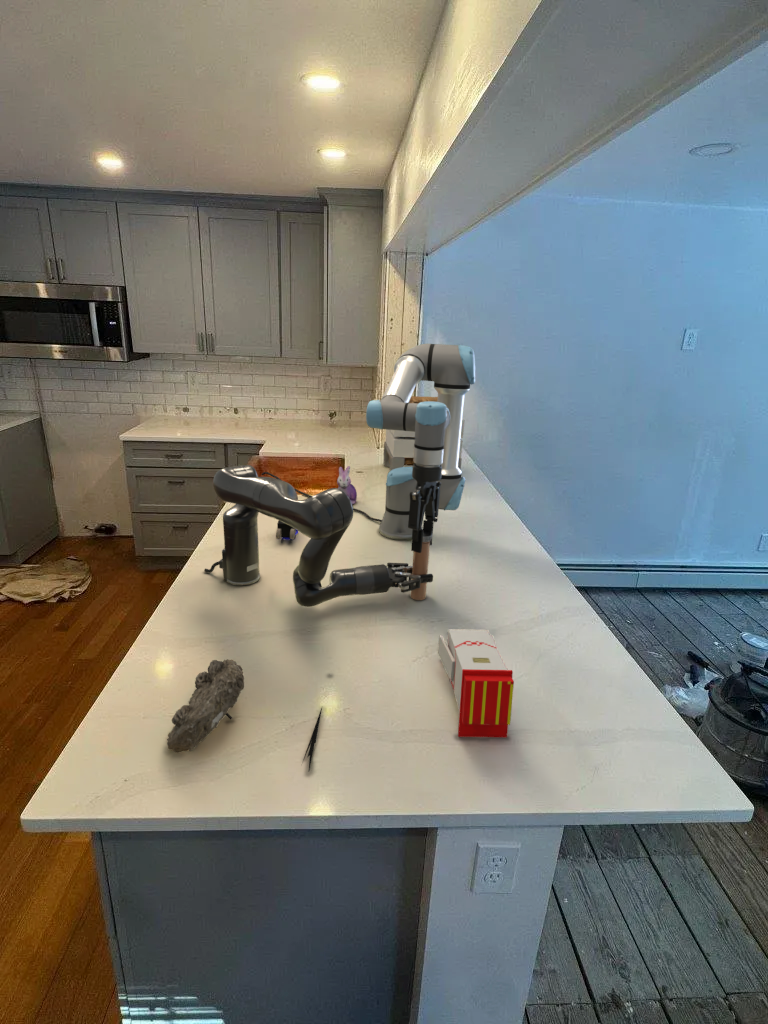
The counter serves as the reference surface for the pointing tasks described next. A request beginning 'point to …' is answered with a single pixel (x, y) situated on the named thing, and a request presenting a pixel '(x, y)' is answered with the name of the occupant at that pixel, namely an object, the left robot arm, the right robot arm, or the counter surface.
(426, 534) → the lid
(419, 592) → the jar
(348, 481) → the figurine
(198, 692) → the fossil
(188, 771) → the counter surface
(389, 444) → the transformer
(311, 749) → the feather
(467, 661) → the toy
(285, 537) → the black wheeled rover
